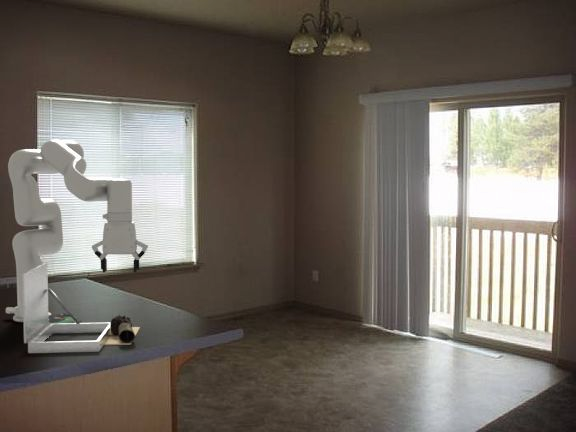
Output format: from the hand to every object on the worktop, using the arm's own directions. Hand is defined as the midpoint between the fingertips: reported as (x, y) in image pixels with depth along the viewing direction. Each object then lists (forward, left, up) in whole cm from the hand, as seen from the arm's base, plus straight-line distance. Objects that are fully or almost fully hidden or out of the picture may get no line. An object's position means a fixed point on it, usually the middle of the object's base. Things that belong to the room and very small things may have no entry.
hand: (120, 271), depth 198 cm
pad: (+1, -1, -21) cm, 21 cm away
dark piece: (+1, -2, -21) cm, 21 cm away
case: (-13, -6, -21) cm, 25 cm away
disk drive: (-24, +16, -21) cm, 36 cm away
